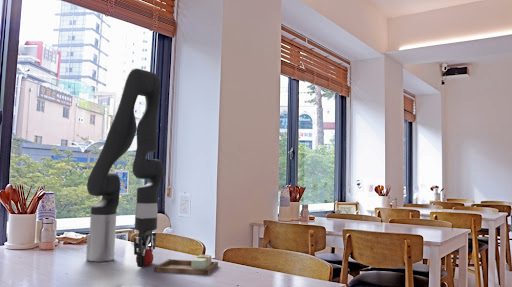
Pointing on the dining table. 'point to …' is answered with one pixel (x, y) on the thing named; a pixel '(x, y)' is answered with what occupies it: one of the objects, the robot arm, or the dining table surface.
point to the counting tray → (183, 267)
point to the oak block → (206, 258)
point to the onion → (147, 258)
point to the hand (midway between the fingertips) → (144, 264)
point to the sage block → (199, 263)
